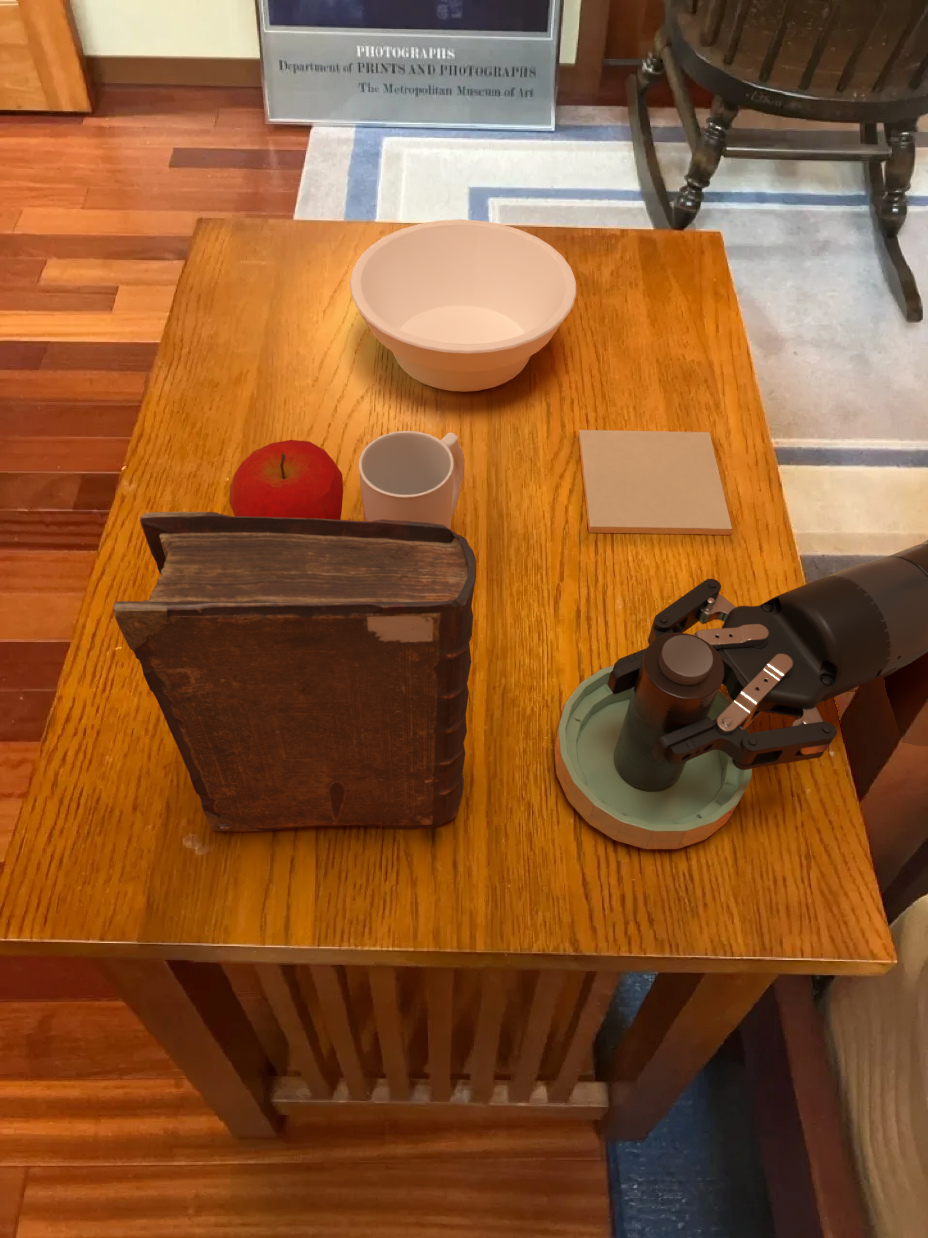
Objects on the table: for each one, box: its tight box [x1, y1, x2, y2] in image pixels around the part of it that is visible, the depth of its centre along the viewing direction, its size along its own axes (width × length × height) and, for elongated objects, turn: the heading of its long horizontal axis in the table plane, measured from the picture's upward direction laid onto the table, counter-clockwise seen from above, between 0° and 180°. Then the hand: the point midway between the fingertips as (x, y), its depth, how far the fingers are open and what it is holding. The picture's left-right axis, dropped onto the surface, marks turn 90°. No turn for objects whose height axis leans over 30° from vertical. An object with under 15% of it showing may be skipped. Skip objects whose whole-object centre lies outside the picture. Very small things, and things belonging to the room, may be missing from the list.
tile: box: [577, 429, 733, 536], centre depth 82 cm, size 12×12×1 cm
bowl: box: [349, 218, 577, 392], centre depth 89 cm, size 21×21×8 cm
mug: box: [358, 430, 465, 531], centre depth 71 cm, size 10×7×12 cm, turn 142°
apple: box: [228, 439, 344, 520], centre depth 71 cm, size 9×8×12 cm
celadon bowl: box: [553, 664, 753, 850], centre depth 64 cm, size 13×13×4 cm
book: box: [113, 511, 477, 832], centre depth 53 cm, size 17×7×25 cm, turn 85°
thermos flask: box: [614, 632, 724, 792], centre depth 60 cm, size 5×5×13 cm
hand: (635, 716), depth 58 cm, fingers closed on thermos flask, 5 cm apart
